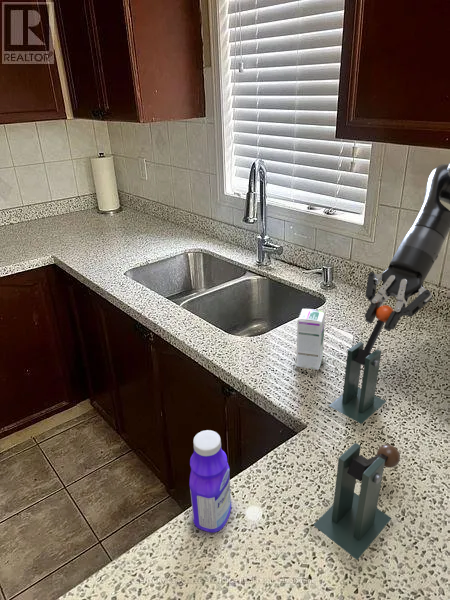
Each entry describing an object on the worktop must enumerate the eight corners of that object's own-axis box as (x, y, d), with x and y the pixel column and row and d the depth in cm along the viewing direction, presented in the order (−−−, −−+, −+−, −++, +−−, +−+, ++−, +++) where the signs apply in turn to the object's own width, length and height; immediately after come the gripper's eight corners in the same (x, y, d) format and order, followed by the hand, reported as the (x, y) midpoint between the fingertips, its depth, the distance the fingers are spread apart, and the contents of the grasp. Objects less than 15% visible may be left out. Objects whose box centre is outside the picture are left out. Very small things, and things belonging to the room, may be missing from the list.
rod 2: (379, 457, 76) (386, 438, 75) (399, 469, 73) (406, 450, 73) (341, 473, 66) (349, 452, 66) (363, 488, 64) (371, 465, 63)
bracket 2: (348, 493, 77) (356, 428, 70) (390, 523, 72) (404, 455, 65) (312, 530, 71) (318, 462, 64) (356, 565, 66) (367, 495, 59)
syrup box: (319, 374, 108) (323, 321, 101) (294, 370, 109) (297, 318, 103) (322, 361, 113) (326, 310, 106) (299, 357, 114) (301, 307, 108)
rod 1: (383, 306, 94) (378, 300, 91) (399, 311, 91) (394, 306, 89) (356, 362, 93) (349, 358, 90) (371, 369, 91) (365, 365, 88)
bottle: (221, 542, 70) (216, 461, 62) (187, 532, 72) (179, 451, 64) (236, 504, 76) (233, 426, 68) (205, 495, 78) (199, 418, 70)
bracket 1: (353, 389, 102) (360, 333, 96) (385, 405, 97) (395, 348, 90) (327, 410, 96) (333, 352, 90) (360, 428, 91) (368, 368, 84)
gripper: (380, 236, 94) (341, 307, 92) (448, 253, 84) (405, 332, 83) (390, 253, 99) (353, 319, 98) (454, 271, 90) (414, 345, 89)
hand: (377, 325), depth 90 cm, fingers closed on rod 1, 3 cm apart
